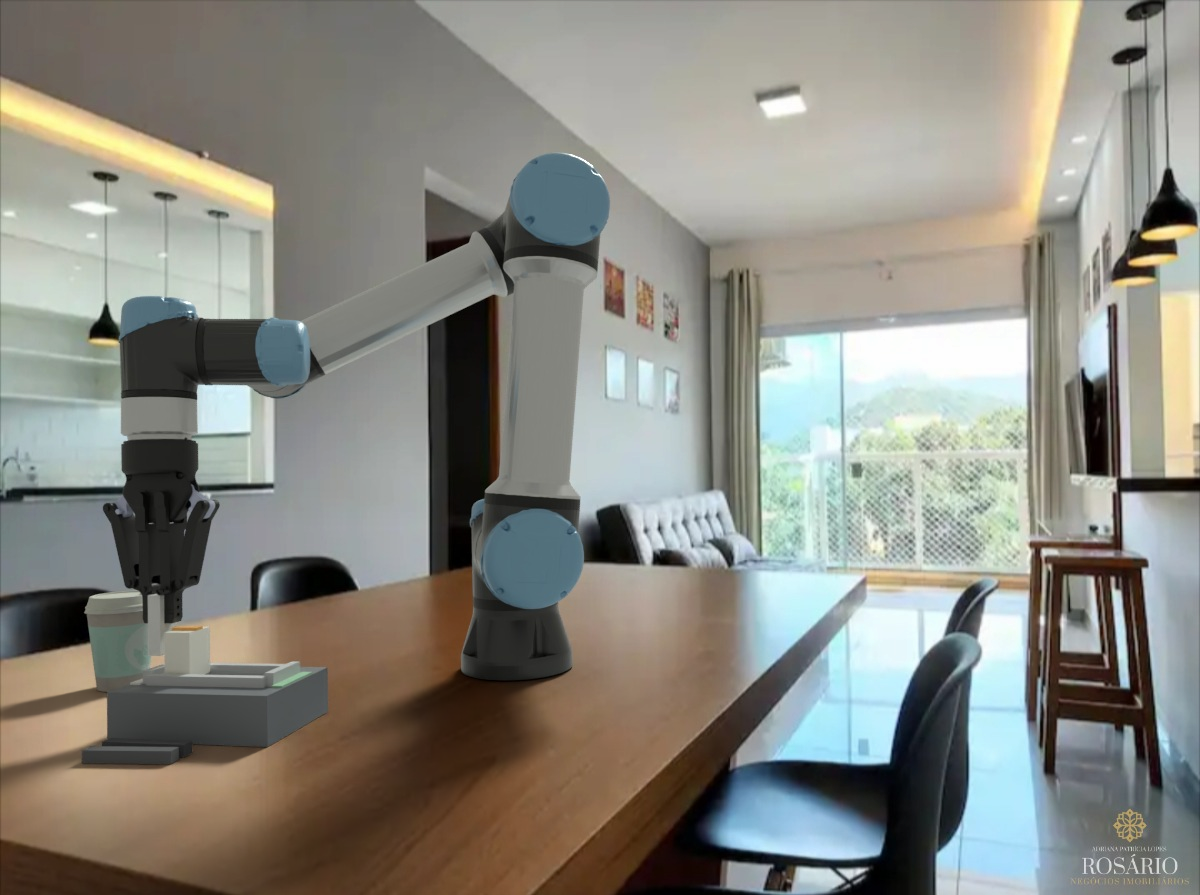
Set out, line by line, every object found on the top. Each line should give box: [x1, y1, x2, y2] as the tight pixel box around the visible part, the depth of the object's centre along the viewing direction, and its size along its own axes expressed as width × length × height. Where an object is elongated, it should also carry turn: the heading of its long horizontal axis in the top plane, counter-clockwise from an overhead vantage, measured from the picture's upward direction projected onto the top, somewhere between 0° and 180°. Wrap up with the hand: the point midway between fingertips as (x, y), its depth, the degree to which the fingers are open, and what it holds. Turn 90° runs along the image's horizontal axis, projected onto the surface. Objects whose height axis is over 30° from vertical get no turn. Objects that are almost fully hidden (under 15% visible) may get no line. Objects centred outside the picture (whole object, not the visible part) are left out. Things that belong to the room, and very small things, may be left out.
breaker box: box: [106, 661, 329, 748], centre depth 88 cm, size 18×12×6 cm, turn 80°
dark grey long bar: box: [101, 738, 194, 758], centre depth 80 cm, size 9×1×1 cm, turn 80°
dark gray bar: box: [81, 745, 180, 765], centre depth 78 cm, size 9×1×1 cm, turn 84°
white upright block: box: [164, 625, 211, 674], centre depth 89 cm, size 3×3×5 cm
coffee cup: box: [83, 589, 152, 693], centre depth 107 cm, size 8×8×12 cm
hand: (163, 652), depth 90 cm, fingers closed
